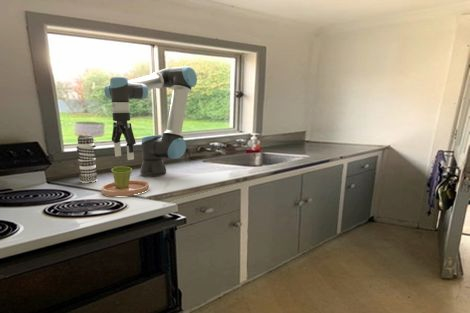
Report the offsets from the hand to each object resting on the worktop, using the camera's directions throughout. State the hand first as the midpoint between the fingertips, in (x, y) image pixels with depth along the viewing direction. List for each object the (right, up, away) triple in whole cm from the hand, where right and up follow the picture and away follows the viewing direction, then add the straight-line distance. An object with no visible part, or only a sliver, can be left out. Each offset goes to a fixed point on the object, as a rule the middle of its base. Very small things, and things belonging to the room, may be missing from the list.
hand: (124, 157), depth 141 cm
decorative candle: (-27, -13, +21) cm, 36 cm away
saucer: (0, -16, +2) cm, 16 cm away
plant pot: (-3, -14, +5) cm, 15 cm away
